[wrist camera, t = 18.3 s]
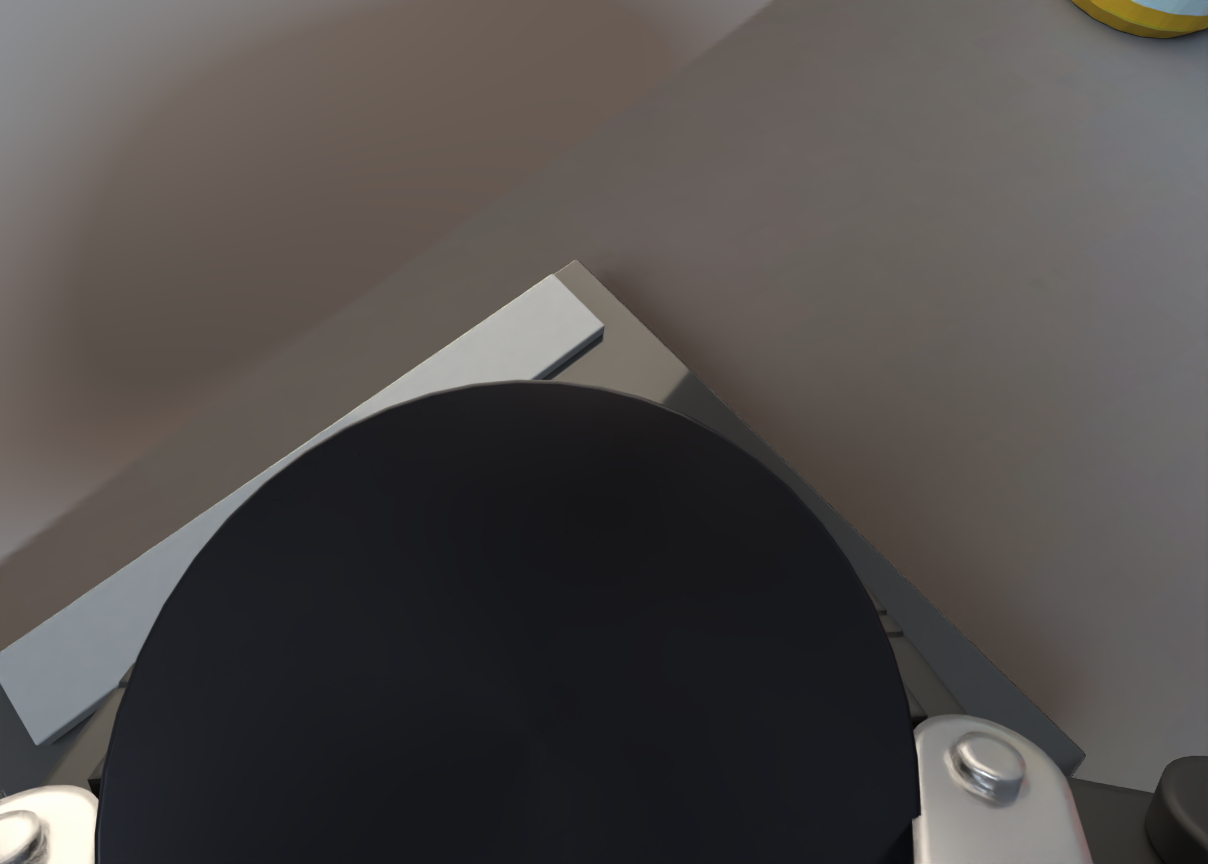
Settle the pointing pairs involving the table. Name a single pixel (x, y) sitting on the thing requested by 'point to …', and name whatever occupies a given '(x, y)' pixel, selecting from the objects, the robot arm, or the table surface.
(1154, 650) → the table surface
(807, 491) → the stove
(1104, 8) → the bottle
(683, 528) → the metal canister
